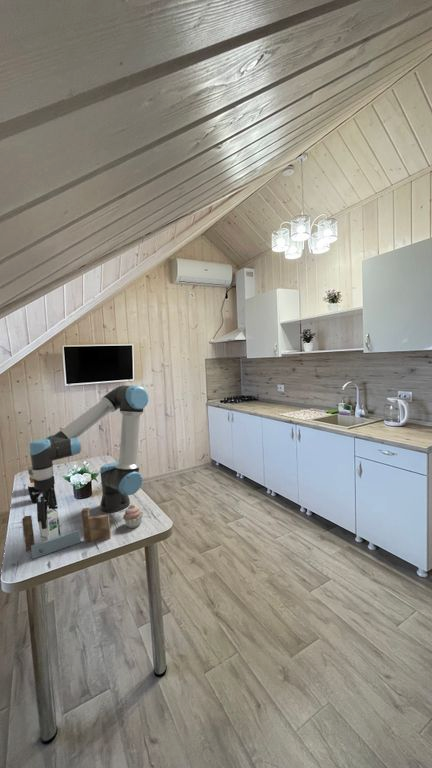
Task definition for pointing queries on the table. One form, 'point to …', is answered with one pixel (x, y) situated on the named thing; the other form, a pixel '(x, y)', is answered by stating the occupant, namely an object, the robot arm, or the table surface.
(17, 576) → the table surface
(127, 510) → the cupcake
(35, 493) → the mug
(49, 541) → the pale blue flat bar
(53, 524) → the syrup box
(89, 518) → the door frame
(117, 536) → the table surface
